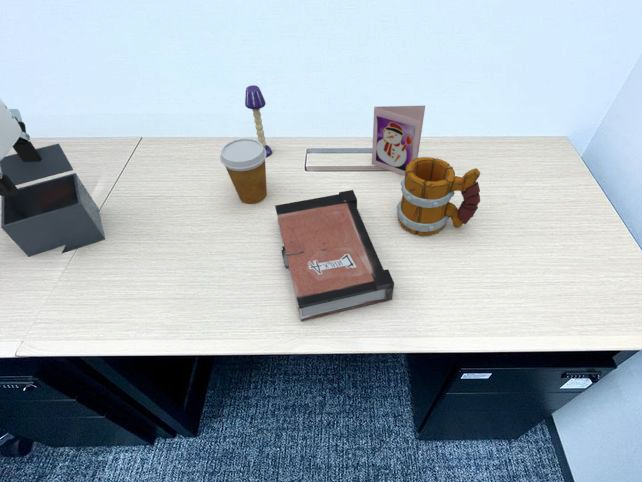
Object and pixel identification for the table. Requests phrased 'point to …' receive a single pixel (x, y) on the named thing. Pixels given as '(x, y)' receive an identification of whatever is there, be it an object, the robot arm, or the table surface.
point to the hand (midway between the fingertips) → (22, 177)
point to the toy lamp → (257, 112)
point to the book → (331, 256)
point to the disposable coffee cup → (246, 168)
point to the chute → (52, 216)
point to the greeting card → (396, 136)
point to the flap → (36, 165)
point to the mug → (435, 196)
